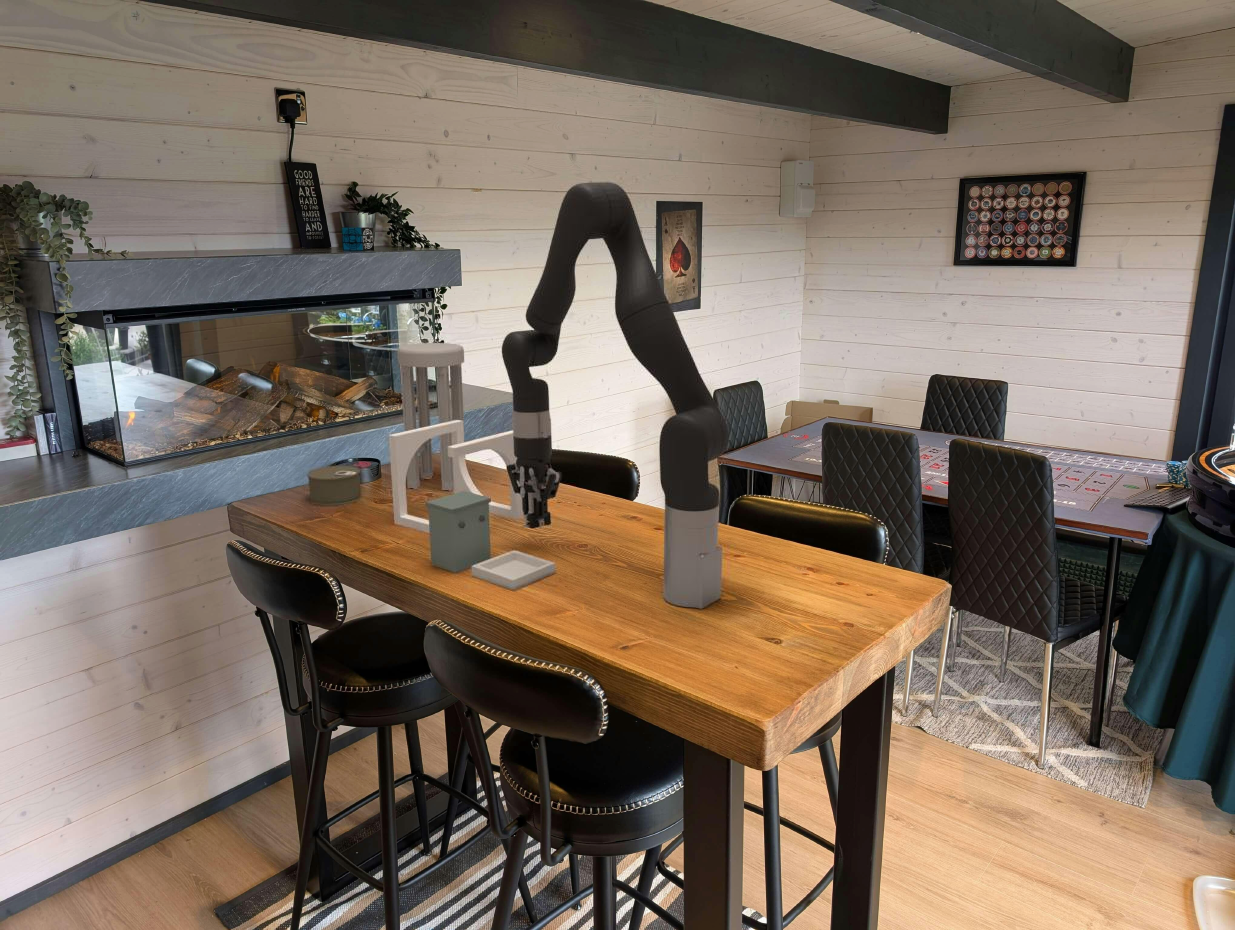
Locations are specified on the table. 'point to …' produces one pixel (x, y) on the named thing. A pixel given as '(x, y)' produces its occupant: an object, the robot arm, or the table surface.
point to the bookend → (411, 440)
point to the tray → (513, 570)
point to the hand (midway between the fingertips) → (535, 516)
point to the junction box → (459, 530)
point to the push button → (534, 509)
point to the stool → (421, 359)
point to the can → (334, 485)
